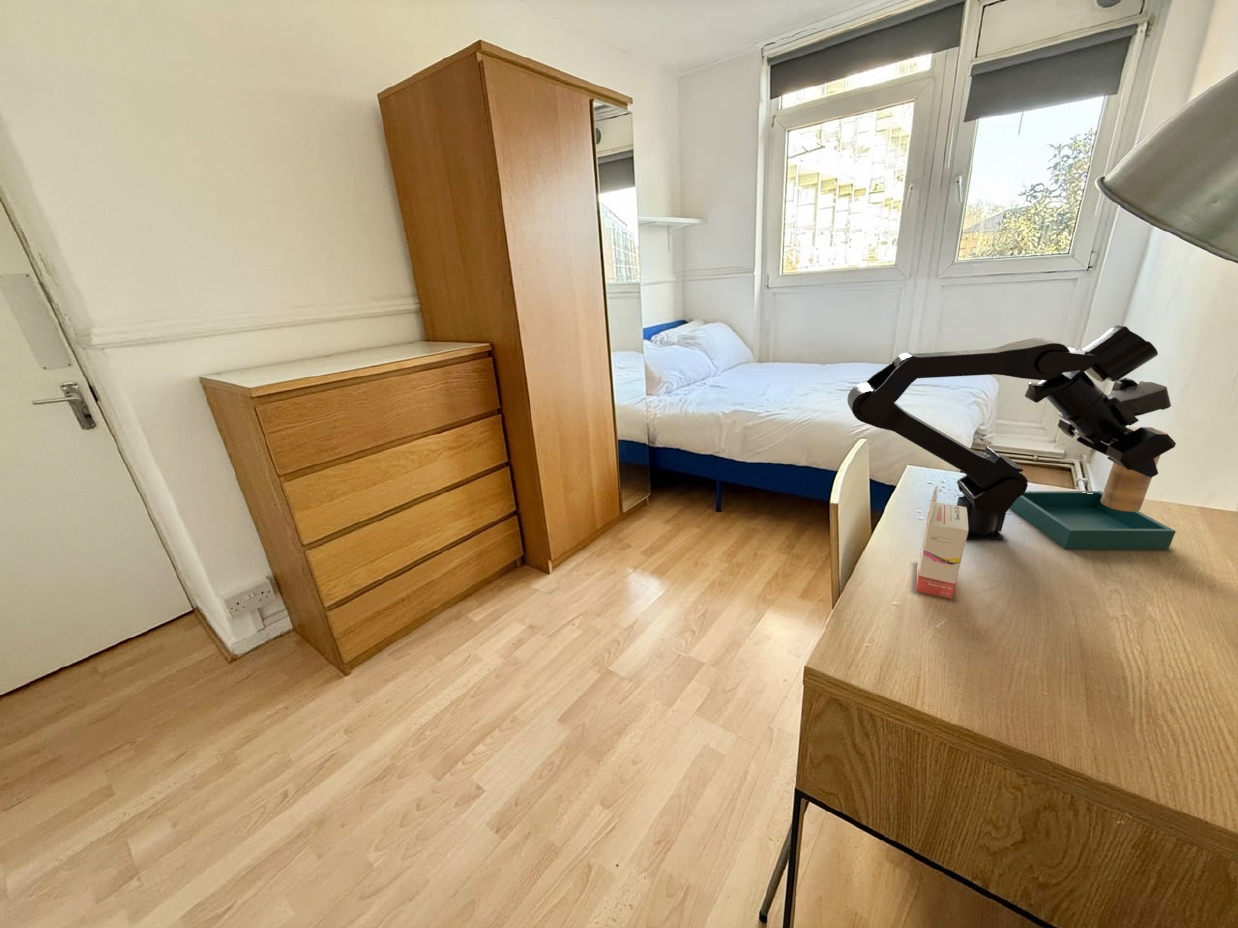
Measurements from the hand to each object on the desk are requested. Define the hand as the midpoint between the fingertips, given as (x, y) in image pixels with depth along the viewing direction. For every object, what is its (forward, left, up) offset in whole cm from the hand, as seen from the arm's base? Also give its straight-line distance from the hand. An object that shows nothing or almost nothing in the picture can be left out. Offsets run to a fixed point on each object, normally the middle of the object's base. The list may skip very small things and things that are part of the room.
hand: (1143, 469), depth 79 cm
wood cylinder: (-1, 0, -7) cm, 7 cm away
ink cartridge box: (-35, -13, -14) cm, 40 cm away
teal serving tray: (-2, +5, -13) cm, 15 cm away
